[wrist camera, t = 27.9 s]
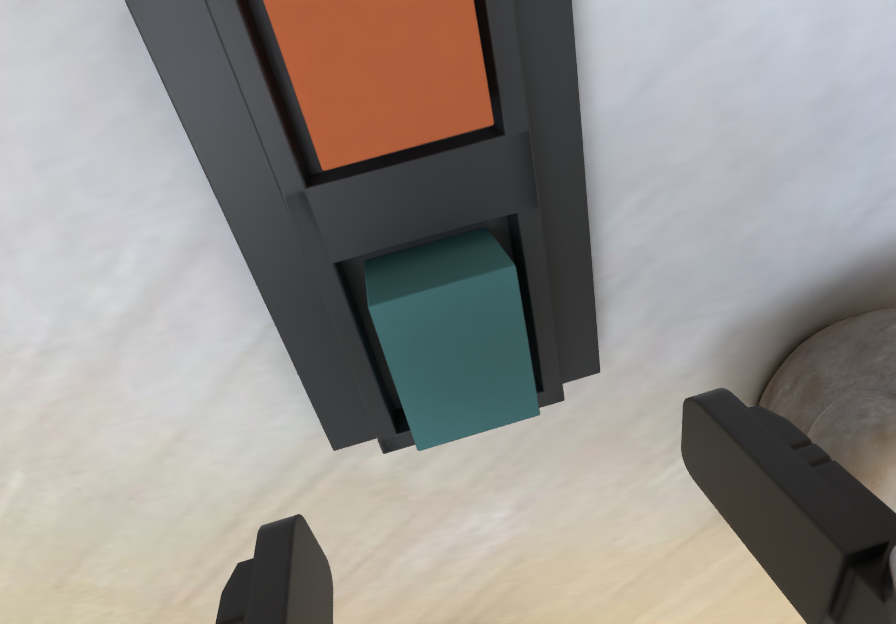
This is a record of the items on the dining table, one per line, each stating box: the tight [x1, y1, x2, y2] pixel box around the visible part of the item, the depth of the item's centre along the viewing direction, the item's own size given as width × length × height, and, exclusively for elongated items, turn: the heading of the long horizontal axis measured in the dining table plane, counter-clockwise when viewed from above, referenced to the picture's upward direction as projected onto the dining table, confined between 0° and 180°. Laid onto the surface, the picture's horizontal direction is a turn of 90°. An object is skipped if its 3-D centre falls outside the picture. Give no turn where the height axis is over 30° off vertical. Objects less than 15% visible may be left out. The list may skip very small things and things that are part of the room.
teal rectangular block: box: [364, 227, 540, 451], centre depth 18 cm, size 6×4×4 cm
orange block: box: [263, 0, 494, 171], centre depth 13 cm, size 6×4×4 cm
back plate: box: [125, 0, 600, 454], centre depth 17 cm, size 20×12×3 cm, turn 12°
